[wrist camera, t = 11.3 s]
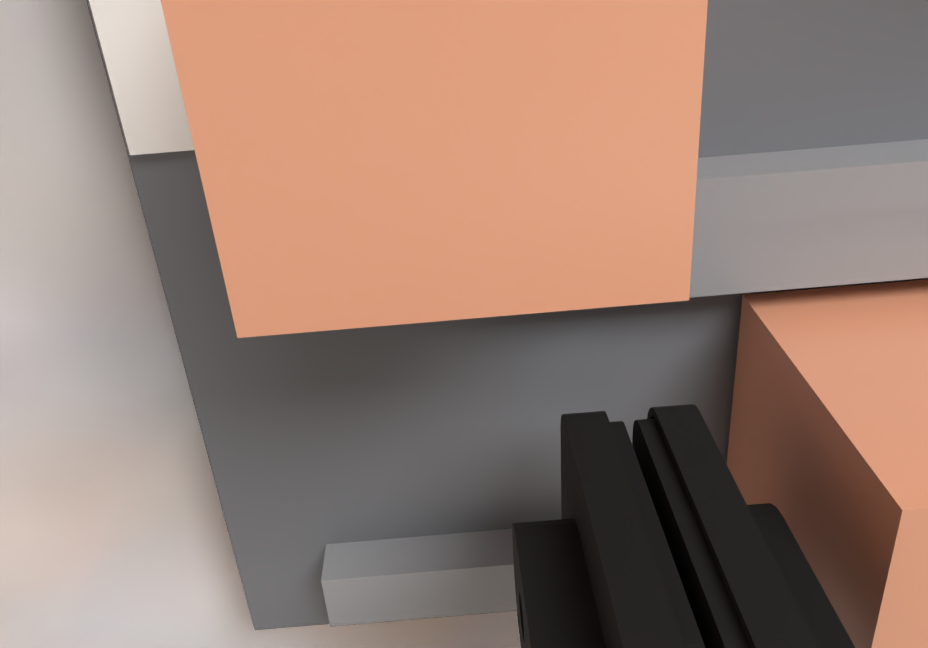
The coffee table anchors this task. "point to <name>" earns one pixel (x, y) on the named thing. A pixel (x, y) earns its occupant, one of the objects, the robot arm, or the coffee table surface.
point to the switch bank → (522, 318)
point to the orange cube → (842, 444)
